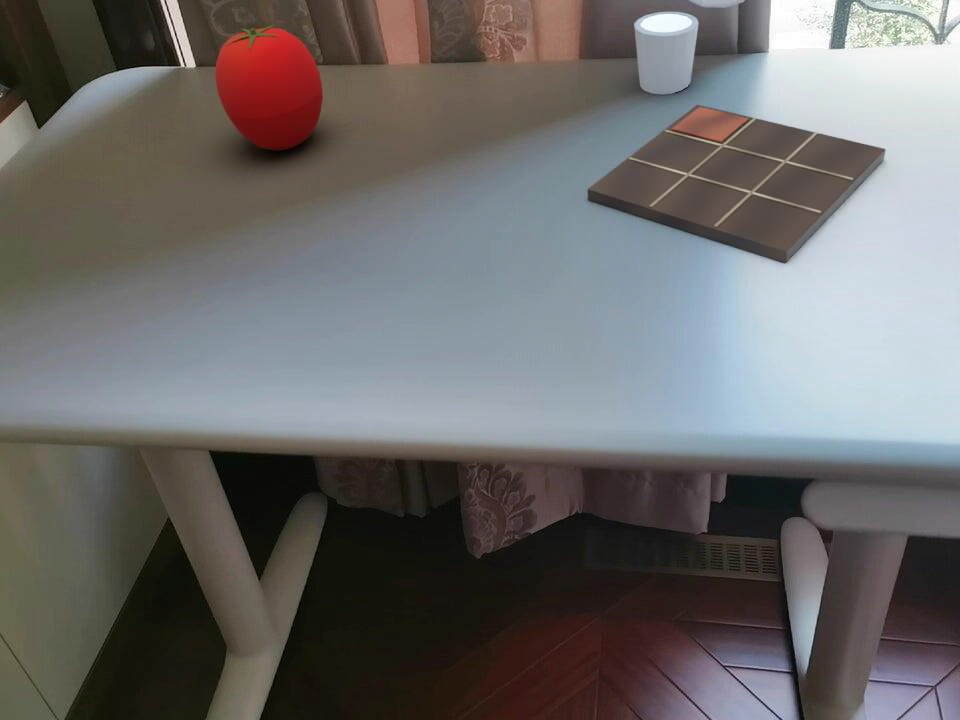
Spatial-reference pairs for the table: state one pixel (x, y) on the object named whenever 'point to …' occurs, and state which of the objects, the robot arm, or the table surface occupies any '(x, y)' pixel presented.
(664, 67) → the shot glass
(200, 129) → the table surface
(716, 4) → the pepper shaker
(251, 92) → the tomato
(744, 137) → the board
